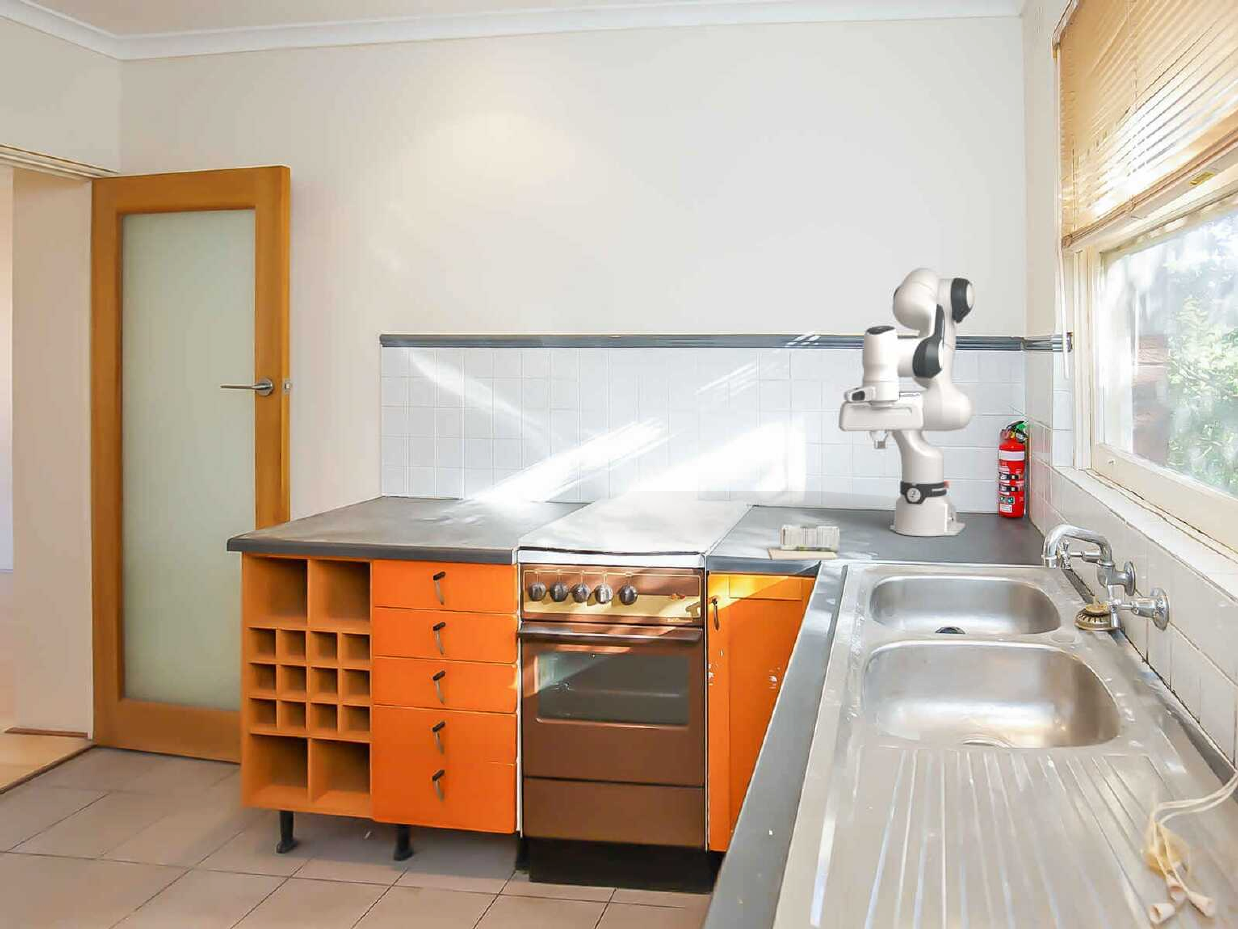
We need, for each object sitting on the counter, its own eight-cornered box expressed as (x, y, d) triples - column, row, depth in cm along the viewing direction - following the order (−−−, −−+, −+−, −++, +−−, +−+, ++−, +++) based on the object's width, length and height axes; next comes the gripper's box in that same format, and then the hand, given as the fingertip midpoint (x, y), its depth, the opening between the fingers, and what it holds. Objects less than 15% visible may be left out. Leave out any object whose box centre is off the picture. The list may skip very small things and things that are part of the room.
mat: (830, 548, 274) (830, 546, 273) (838, 559, 260) (838, 557, 260) (767, 548, 274) (767, 547, 274) (772, 559, 261) (772, 558, 261)
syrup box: (839, 548, 272) (782, 547, 275) (839, 525, 271) (782, 524, 275) (838, 551, 266) (780, 550, 270) (838, 528, 266) (779, 527, 269)
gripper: (920, 390, 263) (920, 445, 265) (837, 393, 265) (837, 448, 266) (926, 392, 257) (926, 448, 259) (841, 394, 258) (841, 451, 260)
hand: (880, 448), depth 263 cm, fingers closed
